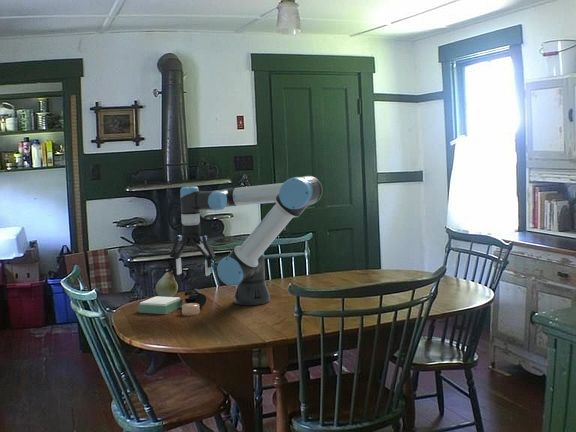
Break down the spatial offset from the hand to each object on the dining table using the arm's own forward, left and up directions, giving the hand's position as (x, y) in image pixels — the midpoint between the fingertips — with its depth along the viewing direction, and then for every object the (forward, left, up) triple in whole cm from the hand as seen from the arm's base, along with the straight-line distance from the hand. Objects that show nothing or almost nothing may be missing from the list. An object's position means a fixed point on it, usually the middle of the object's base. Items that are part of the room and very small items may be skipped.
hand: (193, 274), depth 288 cm
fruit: (+22, -13, -14) cm, 29 cm away
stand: (+12, +8, -13) cm, 20 cm away
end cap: (0, 0, -14) cm, 14 cm away
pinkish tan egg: (-4, +11, -14) cm, 18 cm away
